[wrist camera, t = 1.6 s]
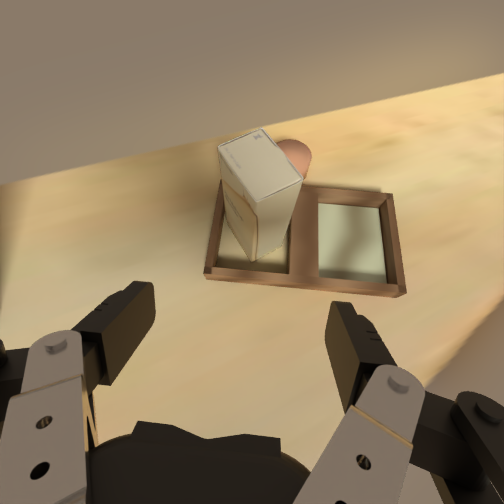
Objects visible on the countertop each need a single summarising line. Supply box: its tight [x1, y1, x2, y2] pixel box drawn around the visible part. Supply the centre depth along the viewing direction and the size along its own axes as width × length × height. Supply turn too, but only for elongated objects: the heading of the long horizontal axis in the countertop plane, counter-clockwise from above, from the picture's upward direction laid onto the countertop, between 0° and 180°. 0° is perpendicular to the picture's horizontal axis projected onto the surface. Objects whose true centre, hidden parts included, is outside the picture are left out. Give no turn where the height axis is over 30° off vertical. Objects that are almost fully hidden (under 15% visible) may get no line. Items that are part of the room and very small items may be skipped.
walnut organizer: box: [203, 179, 407, 298], centre depth 29 cm, size 21×12×2 cm, turn 84°
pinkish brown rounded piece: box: [277, 140, 312, 180], centre depth 33 cm, size 5×5×3 cm
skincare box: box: [218, 127, 304, 262], centre depth 25 cm, size 6×4×12 cm
